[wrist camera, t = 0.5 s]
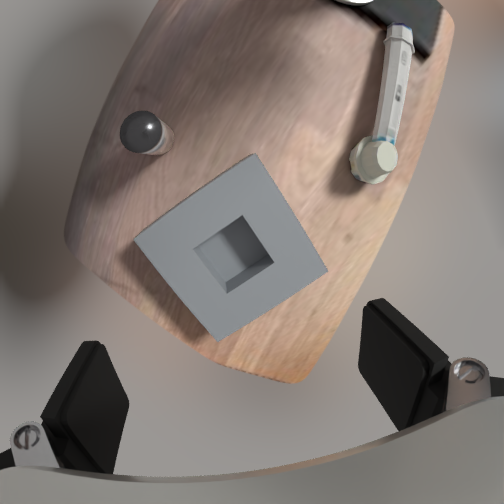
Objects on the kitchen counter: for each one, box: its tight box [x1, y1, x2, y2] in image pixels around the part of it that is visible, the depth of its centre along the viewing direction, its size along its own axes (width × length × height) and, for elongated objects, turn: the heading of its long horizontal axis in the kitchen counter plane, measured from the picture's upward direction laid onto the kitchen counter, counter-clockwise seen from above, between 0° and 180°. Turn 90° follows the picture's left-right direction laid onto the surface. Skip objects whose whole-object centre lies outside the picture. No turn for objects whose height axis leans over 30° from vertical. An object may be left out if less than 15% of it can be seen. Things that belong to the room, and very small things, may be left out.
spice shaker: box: [120, 111, 174, 155], centre depth 28 cm, size 4×4×9 cm
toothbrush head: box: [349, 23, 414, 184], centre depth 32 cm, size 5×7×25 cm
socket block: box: [134, 153, 328, 342], centre depth 35 cm, size 16×16×5 cm
